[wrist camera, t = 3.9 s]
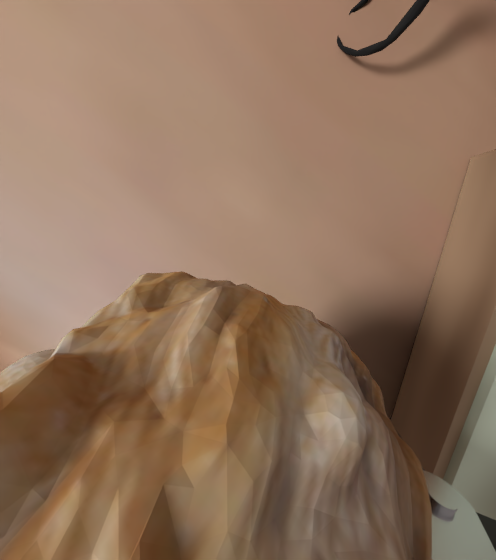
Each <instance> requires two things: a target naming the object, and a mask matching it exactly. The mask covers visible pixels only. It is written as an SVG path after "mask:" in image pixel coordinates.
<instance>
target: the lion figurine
mask: <svg viewBox="0 0 496 560" xmlns="http://www.w3.org/2000/svg"><path fill="white" fill-rule="evenodd" d="M0 560H432V510H431V503H430V499H429V494H428V489H427V484H426V479H425V476H424V473H423V469H422V466H421V463H420V461H419V459H418V458H417V456H416V455H415V453H414V452H413V450H412V449H411V448H410V447H409V446H408V445H407V444H406V442H405V441H404V440H403V439H402V438H400V437H399V435H398V433H397V432H396V430H395V428H394V426H393V424H392V423H391V421H390V419H389V418H388V416H387V414H386V412H385V406H384V400H383V396H382V392H381V388H380V387H379V386H378V384H377V383H376V381H375V380H374V379H372V377H371V374H370V371H369V370H368V368H367V367H366V366H365V364H364V363H363V362H362V361H361V360H360V358H359V357H358V356H357V355H356V354H355V353H354V352H353V351H351V350H350V347H349V345H348V343H347V342H346V340H345V339H344V338H343V337H342V336H341V335H340V334H339V333H338V332H337V331H336V330H335V329H334V328H332V327H331V326H330V325H328V324H326V323H324V322H322V321H320V320H318V319H316V317H315V316H314V314H313V313H312V312H311V311H309V310H307V309H305V308H302V307H298V306H291V305H284V304H281V303H280V302H279V301H278V300H277V299H275V298H274V297H272V296H270V295H267V294H265V293H263V292H261V291H258V290H256V289H254V288H253V287H251V286H249V285H247V284H241V285H237V286H236V285H235V284H234V283H232V282H231V281H211V280H208V279H197V278H195V277H193V276H192V275H189V274H187V273H185V272H172V273H146V274H144V275H141V276H139V278H138V279H137V280H136V281H135V282H134V283H133V284H132V285H131V286H130V287H129V288H128V289H127V290H126V291H125V292H124V293H123V294H122V295H121V296H120V297H119V298H118V299H117V300H116V301H114V302H113V303H111V304H109V305H108V306H106V307H104V308H103V309H101V310H99V311H98V312H97V313H96V314H95V315H94V316H92V317H91V318H90V319H89V320H88V321H87V322H86V323H85V324H84V325H83V326H82V327H81V328H77V329H73V330H72V331H71V332H69V333H68V334H67V335H66V336H65V337H64V338H63V339H62V340H61V341H60V343H59V344H58V346H57V348H56V349H51V350H45V351H41V352H37V353H34V354H31V355H28V356H25V357H23V358H22V359H20V360H18V361H17V362H15V363H13V364H12V365H10V366H8V367H7V368H6V369H4V370H3V371H2V372H1V373H0Z"/></svg>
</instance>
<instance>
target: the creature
mask: <svg viewBox="0 0 496 560" xmlns="http://www.w3.org/2000/svg"><path fill="white" fill-rule="evenodd" d="M367 1H368V0H361V1H360V2H359V3H358V4H357V5H356V6H355V7H354V8H353V9H352V10H351V11H350V13H351V12H355V11H356V10H358V9H359V8H360V7H361V6H363V5H364V4H365V3H366V2H367ZM428 2H429V0H417V1H416V2H415V3H414V4H413V6H412V7H411V8H410V10H409V11H408V12H407V13H406V15H405V16H404V17H403V18H402V20H401V21H400V22H399V24H398V25H397V26H396V27H395V29H394V30H393V31H392V32H391V34H390V35H389V36H388V38H387V39H386V40H383V41H381V42H378V43H376V44H373V45H371V46H368V47H366V48H363V49H360V50H358V51H357V50H354V49H351V48H348V47H345V46H343V45H342V43H341V40H340V38H339V37H337V43H338V46H339V47H340V49H341V50H343V51H344V52H345V53H346V54H349V55H352V56H355V57H356V56H367V55H370V54H373V53H376V52H379V51H381V50H383V49H384V48H386V47H387V46H388V45H390V44H391V43H392V42H394V41H395V40H396V39H397V38H398V37H399V36H400V35H401V34H402V33H403V32H404V31H405V30H406V28H407V27H408V26H409V25H410V24H411V23H412V22H413V21H414V20H415V19H416V18H417V17H418V16H419V15H420V13H421V12H422V11H423V9H424V8H425V6H426V5H427V3H428ZM350 13H349V14H350Z"/></svg>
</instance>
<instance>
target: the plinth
mask: <svg viewBox="0 0 496 560" xmlns="http://www.w3.org/2000/svg"><path fill="white" fill-rule="evenodd" d="M391 423H392V424H393V426H394V428H395V429H396V431H397V432H398V433H399V435H400V436H401V438H402V439H403V440H404V441H405V442H406V444H407V445H408V446H409V447H410V448H411V449H412V450H413V452H414V453H415V455H416V456H417V458H418V459H419V461H420V463H421V466H422V467H423V469H424V470H425V471H427V472H430V473H432V474H434V475H436V476H438V477H440V478H442V479H443V480H445V481H446V482H448V483H449V484H450V485H451V486H453V487H454V488H455V489H456V490H457V491H459V492H460V493H461V494H462V495H463V496H464V497H465V499H466V500H467V501H468V502H469V503H470V504H471V506H472V507H473V509H474V510H475V512H477V513H479V514H482V515H484V516H487V517H489V518H492V519H494V520H496V150H492V151H489V152H486V153H483V154H480V155H477V156H474V157H471V159H470V162H469V166H468V169H467V172H466V176H465V179H464V182H463V185H462V189H461V192H460V195H459V198H458V202H457V205H456V208H455V212H454V215H453V218H452V221H451V225H450V228H449V231H448V235H447V238H446V241H445V244H444V248H443V251H442V254H441V257H440V261H439V264H438V267H437V271H436V274H435V277H434V280H433V284H432V287H431V290H430V293H429V297H428V300H427V303H426V307H425V310H424V313H423V316H422V320H421V323H420V326H419V329H418V333H417V336H416V339H415V343H414V346H413V349H412V352H411V356H410V359H409V362H408V365H407V369H406V372H405V375H404V379H403V382H402V385H401V388H400V392H399V395H398V398H397V401H396V405H395V408H394V411H393V415H392V418H391Z"/></svg>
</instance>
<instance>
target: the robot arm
mask: <svg viewBox="0 0 496 560" xmlns="http://www.w3.org/2000/svg"><path fill="white" fill-rule="evenodd" d="M395 430H396V429H395ZM396 432H397V431H396ZM397 433H398V432H397ZM398 435H399V433H398ZM399 437H400V438H401V436H400V435H399ZM422 469H423V467H422ZM423 473H424V476H425V479H426V484H427V489H428V494H429V499H430V503H431V510H432V560H496V520H494V519H492V518H489V517H487V516H484V515H482V514H479V513H477V512H475V510H474V509H473V507H472V506H471V504H470V503H469V502H468V501H467V500H466V499H465V497H464V496H463V495H462V494H461V493H460V492H459V491H457V490H456V489H455V488H454V487H453V486H451V485H450V484H449V483H448V482H446V481H445V480H443V479H442V478H440V477H438V476H436V475H434V474H432V473H430V472H427V471H425V470H424V469H423Z"/></svg>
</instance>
